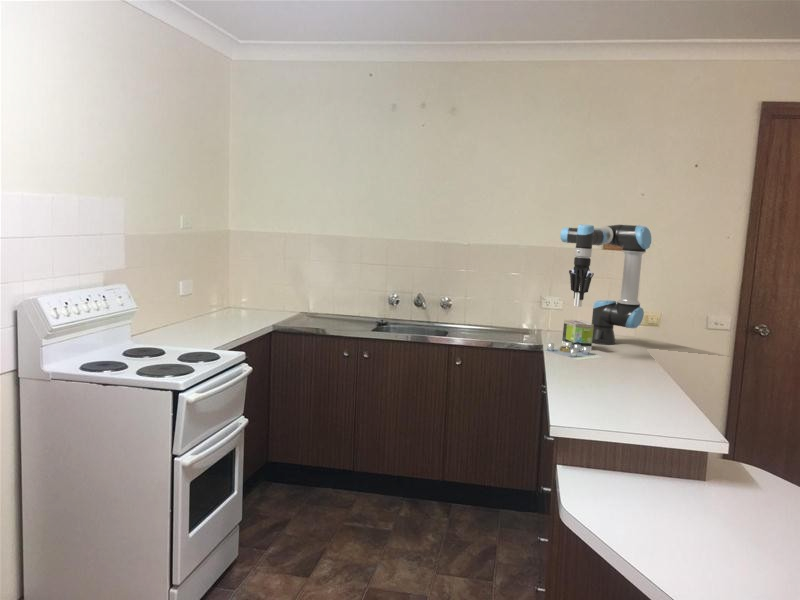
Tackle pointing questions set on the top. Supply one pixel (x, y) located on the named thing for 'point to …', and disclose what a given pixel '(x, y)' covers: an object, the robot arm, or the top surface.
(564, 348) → the nut
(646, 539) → the top surface
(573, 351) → the set of silver spheres
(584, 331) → the tea box
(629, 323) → the robot arm
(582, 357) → the board
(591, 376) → the top surface
